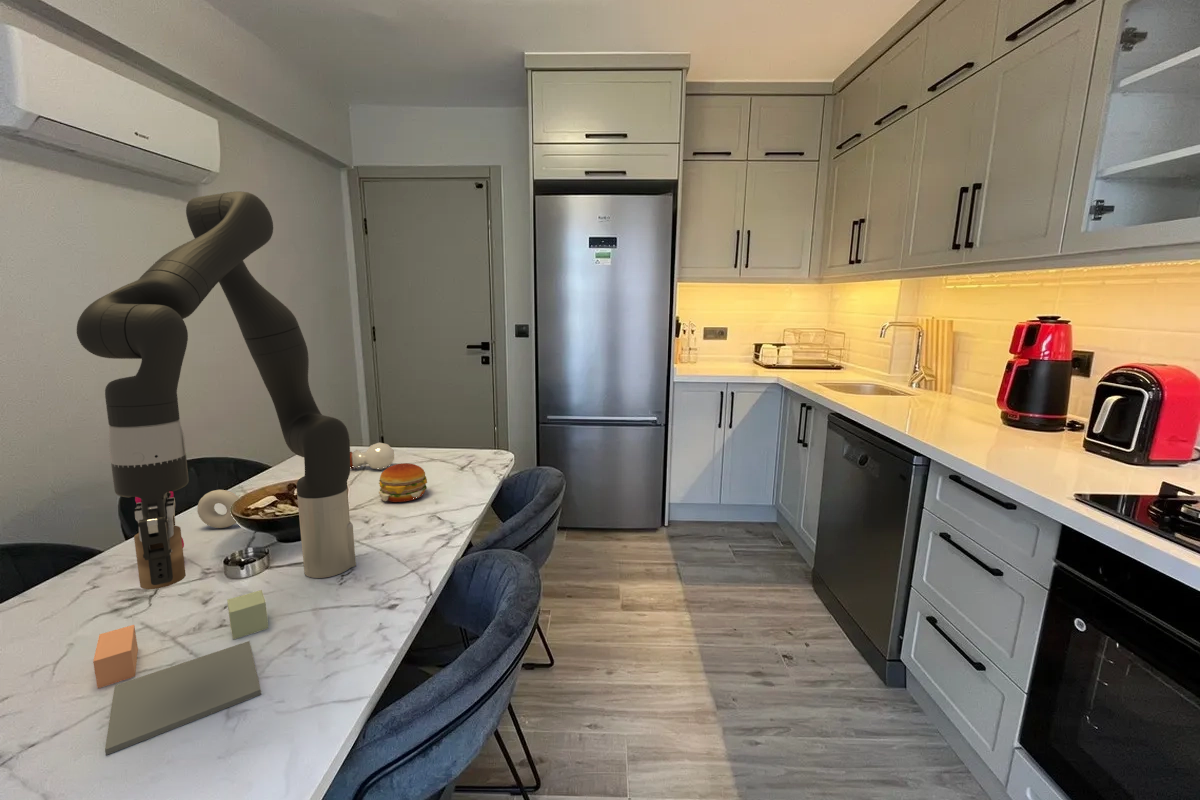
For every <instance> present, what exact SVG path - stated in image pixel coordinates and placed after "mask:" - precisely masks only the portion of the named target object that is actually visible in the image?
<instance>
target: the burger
mask: <svg viewBox="0 0 1200 800" xmlns="http://www.w3.org/2000/svg"><path fill="white" fill-rule="evenodd" d="M378 481H379V482H378V484H379V491H378V494H379V497H380V498H381V499H382V502H393V503H404V502H410V501H413V500H416V499H419V498H421V497H422V496H423V495H424V494H425V492H426V490H427V487H428V486H427V483H428V479H427V476H426V471H424V469H423V468H422V467H421V466H419V465H418V464H417V465H416V464H414V463H407V462H405V463H398V464H396V463H395V464H393V465H390V467H387V468H385V469H383V471H382V472H381V474H380V476H379V480H378ZM422 494H423V495H422ZM416 497H417V498H416ZM413 498H414V499H413Z"/></svg>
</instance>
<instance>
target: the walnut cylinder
mask: <svg viewBox="0 0 1200 800" xmlns="http://www.w3.org/2000/svg"><path fill="white" fill-rule="evenodd" d="M167 530H168V526H167ZM182 538H183V537H182V530H181V527H180V526H178V525H175V526H174V535H173V536H172V537H171V538H170V546H171V549H172V552H171V563H172V572H173V579H172V581H170V582H167V583H163V584H159V585H152V584H151V578H150V569H149V561H148V560H145V558H143V554H144V551H143V545H142V542H141V541H140V539H139V532H138V533H136V534H135V535H134V536H133V540H134V541H133V542H134V548H135V554H136V555H135V556H136V564H137V572H138V579H139V585H140V586H139V587H140V588H141V589H144V590H156V589H161V588H165V587H169V586H172V585H174V584H177V583H179V582H181V581H183V580H184V579H185V577H186V575H187V574H186V565H185V564H186V563H185V555H184V547H183V546H182ZM163 547H164V545H163V543H158V544H152V545H151V550H153V549H158V548H163Z"/></svg>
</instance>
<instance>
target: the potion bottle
mask: <svg viewBox="0 0 1200 800" xmlns="http://www.w3.org/2000/svg"><path fill="white" fill-rule="evenodd" d="M394 461H395V451H394V449H393V448H392V447H391V446H390V445H389V443H388V444H387V443H383V442H376V443H374V444H371V445H369V447H368V448H367V450H366V451H363V452H362V451H360V450H359V449H355V450H354V451H350V467H351V468H350V470H353V469H354V468H356V467H357V468H356V469H357V470H359V469H360V468H361V467H363V466H364V465H368V466H369V467H370V469H373V470H376V471H377V470H378V471H382V470H383V471H384V470H386V469H387V468H388V467H387V466H389V465H390V466H392V463H393V462H394ZM352 466H355V467H352ZM358 466H360V467H358ZM390 466H389V467H390ZM383 467H386V468H383ZM377 468H379V469H377Z"/></svg>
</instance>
